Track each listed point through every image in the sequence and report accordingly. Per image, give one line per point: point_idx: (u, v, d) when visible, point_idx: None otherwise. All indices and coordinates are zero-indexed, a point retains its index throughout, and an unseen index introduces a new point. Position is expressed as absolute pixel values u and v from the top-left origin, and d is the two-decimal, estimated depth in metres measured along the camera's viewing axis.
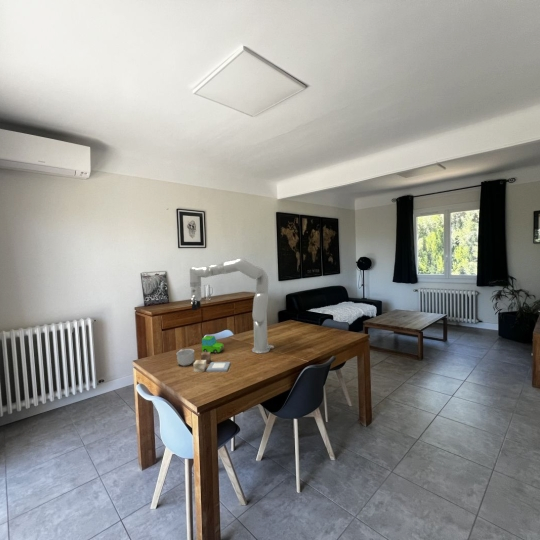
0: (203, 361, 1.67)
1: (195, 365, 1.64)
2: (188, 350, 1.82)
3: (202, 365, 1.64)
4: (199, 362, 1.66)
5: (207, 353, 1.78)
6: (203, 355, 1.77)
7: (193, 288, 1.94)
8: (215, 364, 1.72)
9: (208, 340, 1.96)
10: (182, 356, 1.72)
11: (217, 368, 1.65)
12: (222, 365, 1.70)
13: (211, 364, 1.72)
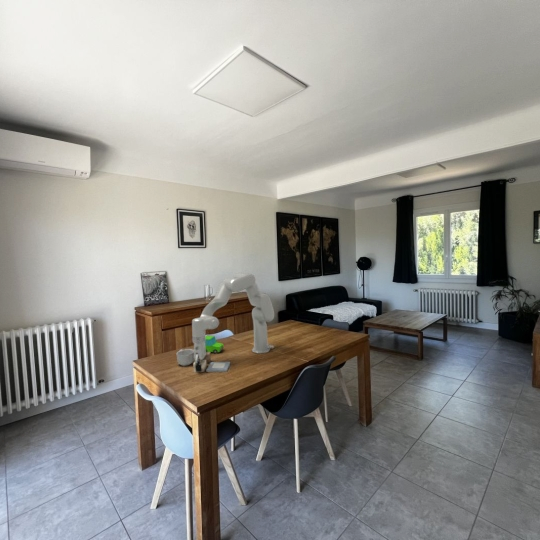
0: (203, 361, 1.67)
1: (195, 365, 1.64)
2: (188, 350, 1.82)
3: (202, 365, 1.64)
4: None
5: (207, 353, 1.78)
6: None
7: (196, 345, 1.62)
8: (215, 364, 1.72)
9: (208, 340, 1.96)
10: (182, 356, 1.72)
11: (217, 368, 1.65)
12: (222, 365, 1.70)
13: (211, 364, 1.72)
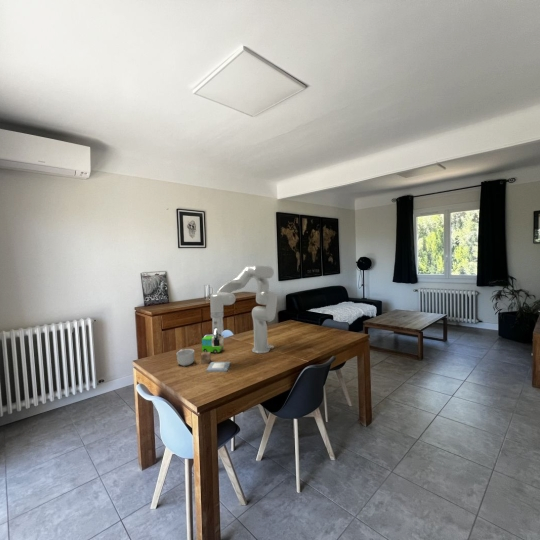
0: (221, 336, 1.70)
1: (213, 340, 1.66)
2: (188, 350, 1.82)
3: (220, 340, 1.66)
4: None
5: (207, 353, 1.78)
6: (203, 355, 1.77)
7: (215, 319, 1.64)
8: (215, 364, 1.72)
9: (208, 340, 1.96)
10: (182, 356, 1.72)
11: (217, 368, 1.65)
12: (222, 365, 1.70)
13: (211, 364, 1.72)
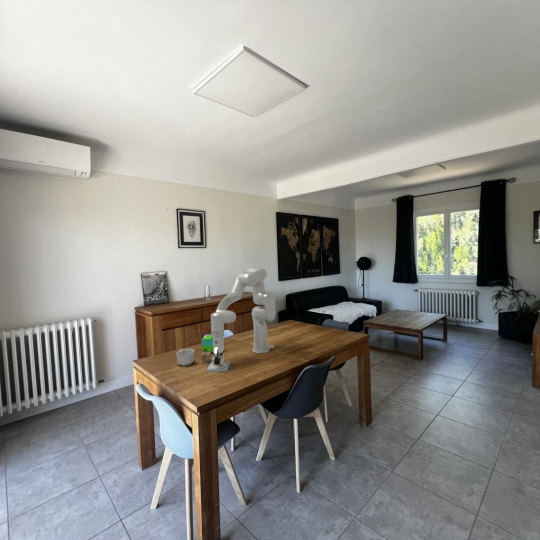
0: (221, 356, 1.70)
1: None
2: (188, 350, 1.82)
3: (221, 360, 1.67)
4: None
5: (207, 353, 1.78)
6: (203, 355, 1.76)
7: (215, 339, 1.65)
8: None
9: (208, 340, 1.96)
10: (182, 356, 1.72)
11: (217, 368, 1.65)
12: None
13: (211, 364, 1.72)
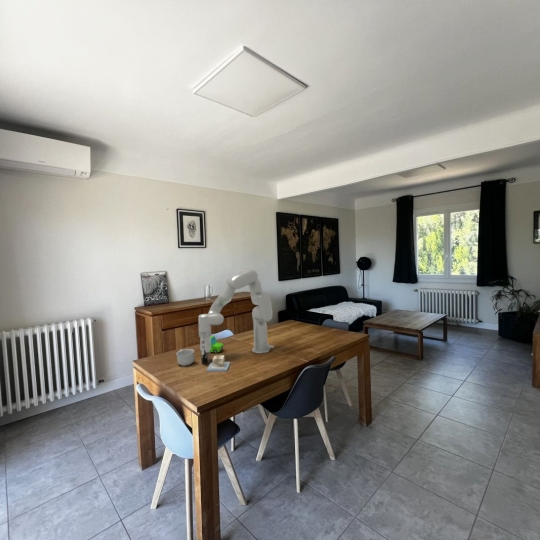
0: (221, 356, 1.70)
1: (214, 360, 1.67)
2: (188, 350, 1.82)
3: (221, 360, 1.67)
4: (218, 357, 1.69)
5: (207, 353, 1.78)
6: None
7: (202, 339, 1.74)
8: None
9: None
10: (182, 356, 1.72)
11: (217, 368, 1.65)
12: None
13: (211, 364, 1.72)
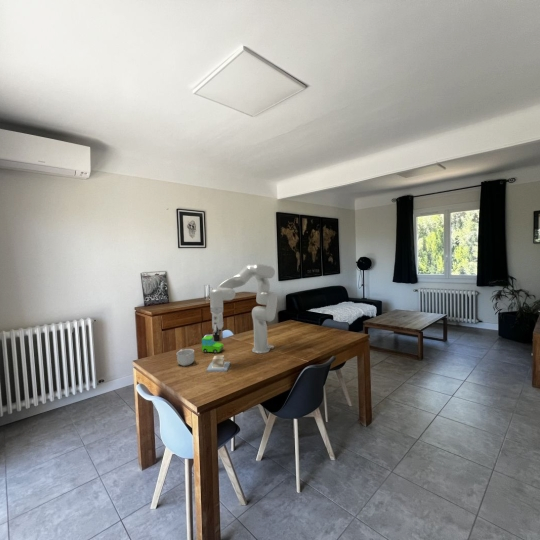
0: (221, 356, 1.70)
1: (214, 360, 1.67)
2: (188, 350, 1.82)
3: (221, 360, 1.67)
4: (218, 357, 1.69)
5: (219, 330, 1.68)
6: None
7: (215, 315, 1.64)
8: None
9: (208, 340, 1.96)
10: (182, 356, 1.72)
11: (217, 368, 1.65)
12: None
13: (211, 364, 1.72)
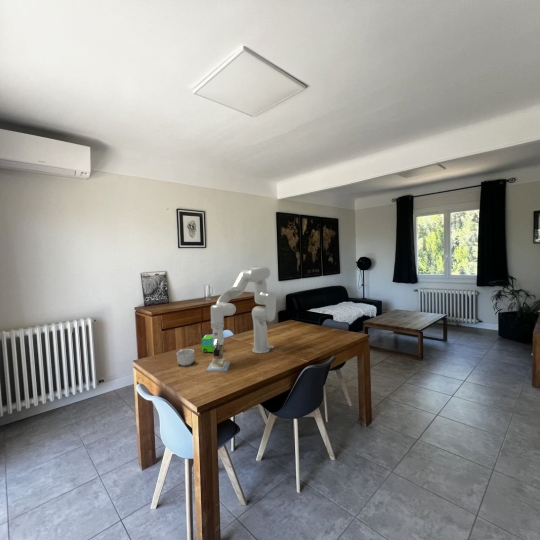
0: None
1: (214, 360, 1.67)
2: (188, 350, 1.82)
3: (221, 360, 1.67)
4: None
5: (220, 347, 1.69)
6: None
7: (215, 330, 1.65)
8: None
9: (208, 340, 1.96)
10: (182, 356, 1.72)
11: (217, 368, 1.65)
12: None
13: (211, 364, 1.72)
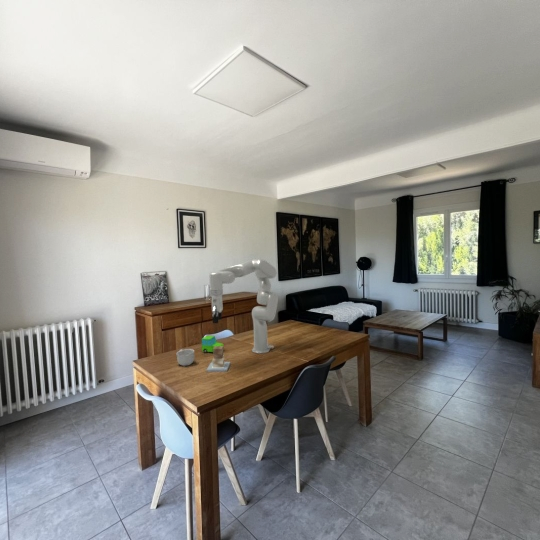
0: None
1: (214, 360, 1.67)
2: (188, 350, 1.82)
3: (221, 360, 1.67)
4: None
5: (220, 347, 1.69)
6: (216, 349, 1.67)
7: (214, 297, 1.64)
8: None
9: (208, 340, 1.96)
10: (182, 356, 1.72)
11: (217, 368, 1.65)
12: None
13: (211, 364, 1.72)
